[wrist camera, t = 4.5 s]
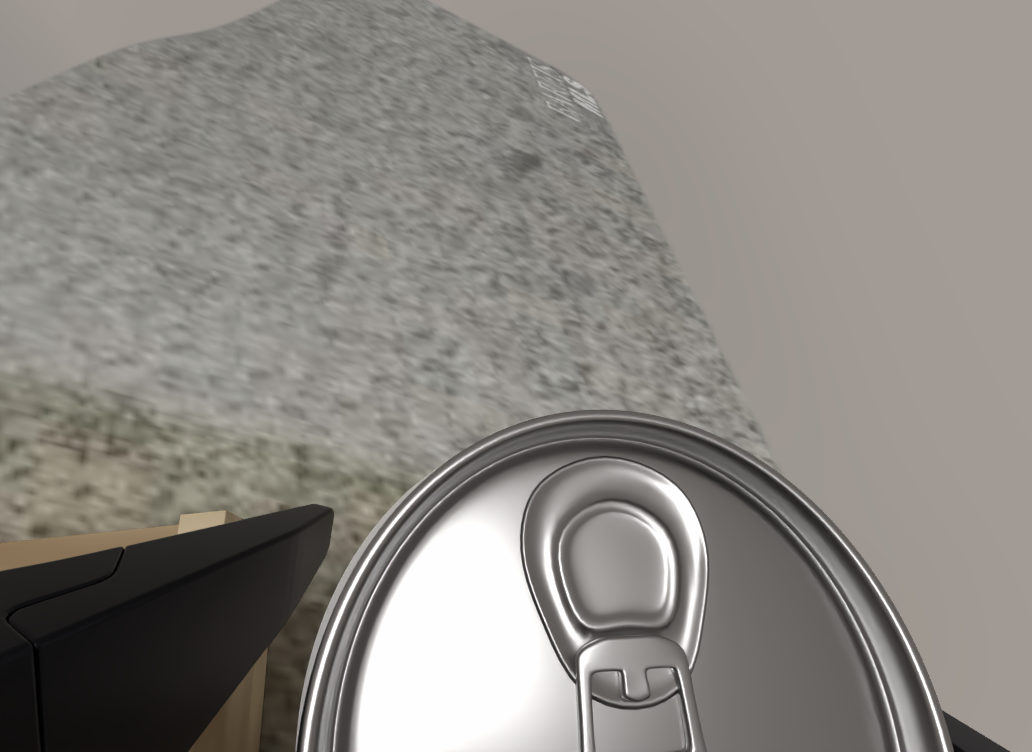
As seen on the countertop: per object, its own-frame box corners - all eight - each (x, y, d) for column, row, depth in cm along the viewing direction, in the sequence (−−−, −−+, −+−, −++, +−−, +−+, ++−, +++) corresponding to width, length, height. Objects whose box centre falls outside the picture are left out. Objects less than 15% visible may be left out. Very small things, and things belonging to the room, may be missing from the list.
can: (593, 535, 16) (854, 378, 6) (619, 773, 14) (1232, 1310, 3) (401, 539, 16) (303, 365, 5) (384, 794, 13) (70, 1657, 2)
